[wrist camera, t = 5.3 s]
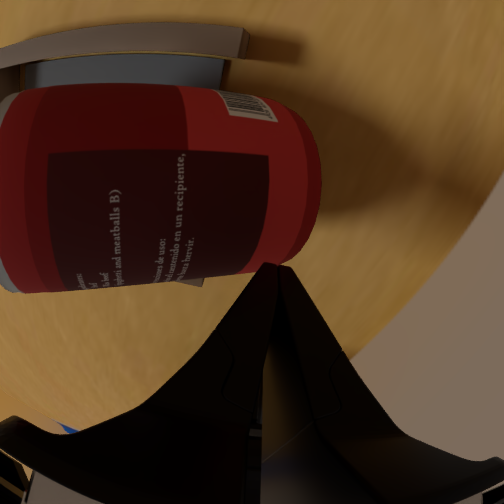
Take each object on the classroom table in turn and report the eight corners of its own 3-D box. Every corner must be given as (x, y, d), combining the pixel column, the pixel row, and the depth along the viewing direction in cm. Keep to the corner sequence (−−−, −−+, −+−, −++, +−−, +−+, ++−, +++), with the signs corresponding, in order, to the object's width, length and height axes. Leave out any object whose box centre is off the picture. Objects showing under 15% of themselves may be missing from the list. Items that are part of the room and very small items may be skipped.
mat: (198, 235, 19) (197, 238, 19) (37, 203, 19) (35, 205, 18) (224, 59, 13) (223, 59, 12) (28, 64, 12) (25, 65, 12)
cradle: (210, 257, 20) (201, 287, 18) (22, 216, 20) (2, 235, 17) (250, 35, 12) (243, 28, 9) (10, 49, 11) (-19, 55, 9)
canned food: (233, 126, 16) (41, 125, 11) (322, 75, 9) (-3, 52, 4) (234, 257, 17) (40, 272, 12) (328, 286, 10) (-15, 325, 5)
